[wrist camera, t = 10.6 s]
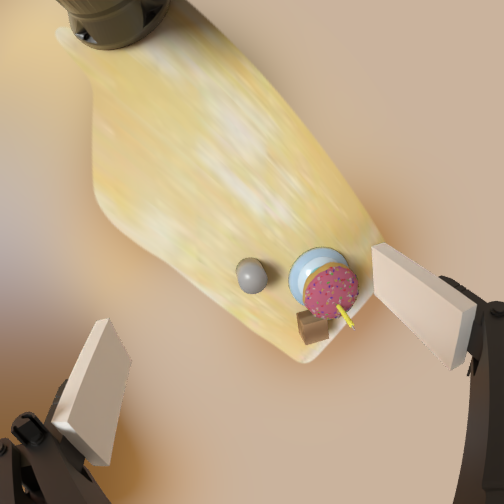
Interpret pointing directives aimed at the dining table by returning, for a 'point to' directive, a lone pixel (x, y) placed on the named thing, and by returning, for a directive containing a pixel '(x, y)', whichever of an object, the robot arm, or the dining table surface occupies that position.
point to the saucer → (310, 268)
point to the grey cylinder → (251, 276)
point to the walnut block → (312, 327)
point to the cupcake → (331, 291)
